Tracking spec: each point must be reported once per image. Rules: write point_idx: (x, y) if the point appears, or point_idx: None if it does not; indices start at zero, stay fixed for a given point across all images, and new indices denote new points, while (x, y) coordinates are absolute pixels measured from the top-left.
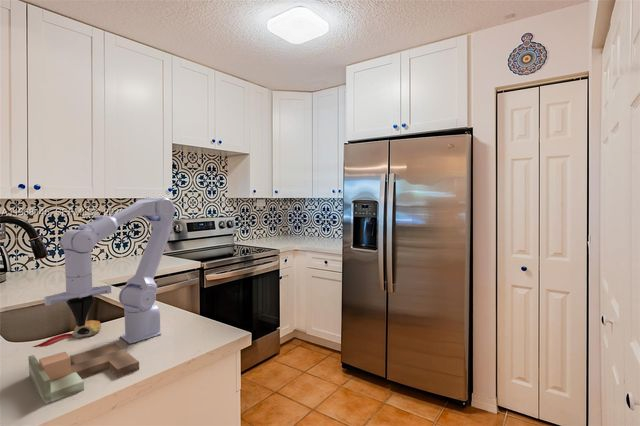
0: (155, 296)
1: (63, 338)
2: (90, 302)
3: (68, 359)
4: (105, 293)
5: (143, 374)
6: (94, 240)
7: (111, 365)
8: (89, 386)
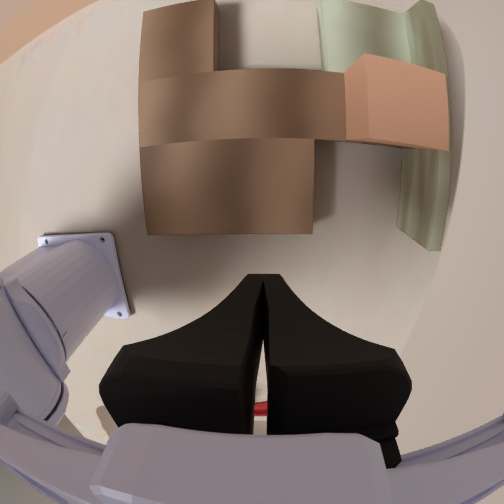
0: None
1: (263, 403)
2: (151, 351)
3: (369, 55)
4: (22, 409)
5: None
6: None
7: (214, 46)
8: (300, 15)
